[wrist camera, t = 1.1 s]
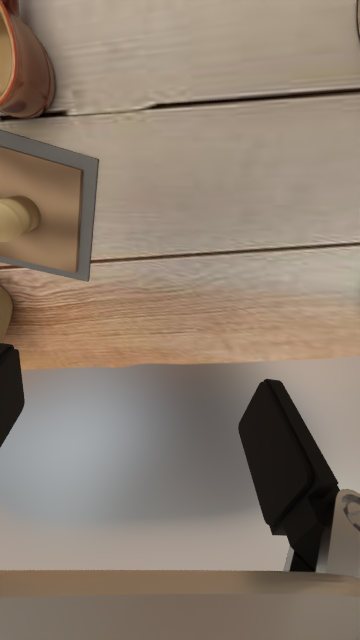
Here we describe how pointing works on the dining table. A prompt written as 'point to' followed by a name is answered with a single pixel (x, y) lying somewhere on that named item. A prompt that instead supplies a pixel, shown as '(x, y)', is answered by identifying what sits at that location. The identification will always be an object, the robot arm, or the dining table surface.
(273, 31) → the dining table surface
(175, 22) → the dining table surface
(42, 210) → the lid
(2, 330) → the plant pot
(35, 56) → the mug
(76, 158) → the mat
